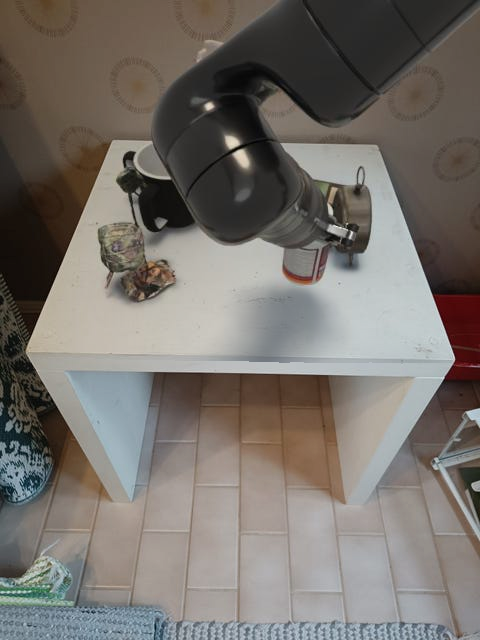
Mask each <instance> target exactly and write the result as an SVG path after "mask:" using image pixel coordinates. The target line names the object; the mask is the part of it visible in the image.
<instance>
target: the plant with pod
mask: <svg viewBox="0 0 480 640" xmlns="http://www.w3.org/2000/svg"><path fill="white" fill-rule="evenodd" d="M115 182H116V184H117V185H118V186H119V188H120V189H121V190H122V192H124V193H125V194H127V197H128V201H129V204H130V209H131V215H132V219H133V222H134V223H133V222H132V221H131V222H128V221H119V222H113V223H110V224H105V225H103V226H100V227H98V228H97V241H98V243H99V245H100V248H99V249H100V250H99V255H100V261H101V263H102V264H103V266H105V268H107V269H108V271H109V272H108V274H107V276H106V281H105V285H104V289H106V290H107V289H108V287H109V286H110V283H111V280H112V278H113V276H114V273H116V274H119V273H124V272H125V273H124V274H122V276H121V277H119V279H120V280H119V284H120V285H121V286H122V287H123V289H124V292H125V294H126V295H127V296H128V299H130V300H132V301H133V302H137V301H138V302H140V301H143V300H146V299H148V298H151V297H154V296H156V295H157V294H158V293H159V292H160V291H161V290H162V289H166V288H167V285H170V284H175V283H176V280H177V279H176V278H177V277H176V275H175V274H174V273H175V271H176V270H173V269H171V266H170V264H168V260H167V259H162V258H161V259H159V260H156V261H154V262H153V261H147V258H146V253H145V252H146V250H145V235H144V233H143V229H142V228H141V226H140V225H139V224H138V220H137V215H136V212H135V207H134V200H133V195H132V194H135V193H134V192H135V191H136V190H137V189H138V187H139V186H140V185H143V186H144V187H146V186H147V185H146V184H145V183H144V182H143V177H142V176H141V174H140V173H139V172H138V171H136V169H134V168H133V167H132V166H130V165H129V166H127V167H126V168H125V169H124V168H123V169H122V170H121V171H119V172H118V174H117V176H116V179H115ZM98 224H99V222H95V224H94V225H95V226H96V225H97V226H98Z"/></svg>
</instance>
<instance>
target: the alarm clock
mask: <svg viewBox="0 0 480 640" xmlns="http://www.w3.org/2000/svg"><path fill="white" fill-rule="evenodd" d="M361 170H362V179H361V183H359V175H360V174H359V173H360V171H361ZM365 180H366V170H365V167H364V166H363V165H360V166H359V167H358V169H357V171H356V180H355V181H356V184H353V185H352V184H350V185H349V184H348V185H347V186H341V187H340V188H339V189H338V190H337V191H336V193H335V196H334V200H333V205H331V207H332V209H333V216H334V217H336V222H337V223H339V224H342V226H344V225H345V223H348V224H349V223H351V224H353V223H355V224H357V226H359V230H358V232H357V235H356V237H355V240H354V242H353V245H352V247H351V249H347V250H346V249H343V248H344V247H341V244H337V245H330V248H332V247H334V249H335V251H336V252H337V253H339V254H344V255H346V254H348V258H349V259H348V262H349V263H348V266H349V267H353V266H354V264H353V262H354V254H364V253H365V252H366V250H367V248H368V246H369V243H370V240H371V235H372V234H371V232H372V225H373V203H372V197H371V192H370V189H369V187H368V186H367V185H366V184H365Z"/></svg>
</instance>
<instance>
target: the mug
mask: <svg viewBox="0 0 480 640" xmlns="http://www.w3.org/2000/svg"><path fill="white" fill-rule="evenodd" d="M122 165H123V169H125V168H126V167H127V166H129V165H130V166H132V167H133V168H134V169H136V171H138V172H139V173H140V174H141V176H142V177H143V182H144V183H145V184H146V185H147V186H146V187H144V186H143V185H140V186H139V187H138V189H137V190H136V191H135V192H134V193H133V194H134V195H136V196H137V197H138V199H137V203H138V209H139V213H140V214H139V215H140V217H141V221H142V224H143V226H144V227H145V229H146V230H147V231H148V232H150V233H153V234H158V233H161V232H162V231H163V230H164V229H165V228H169V229H181V228H186V227H189V226H191V225H194V224H195V223H196V222H195V220H194V218H193V216H192V215H191V213H190V211H189V209H188V208H187V206H186V204H185V202H184V200H183V199H182V197H181V195H180V193H179V192H178V190H177V188H176V186H175V185H174V183H173V181H172V179H171V178H170V176H169V174H168V172H167V171H166V169H165V167H164V166H163V164H162V162H161V160H160V158H159V157H158V155H157V153H156V151H155V148H154V145H153V142H152V141H150V142H147V143H146V144H143V145H142V146H141V147H139V149H138V150H137V151H135V150H127V152H125V153H124V154H123V156H122Z"/></svg>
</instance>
